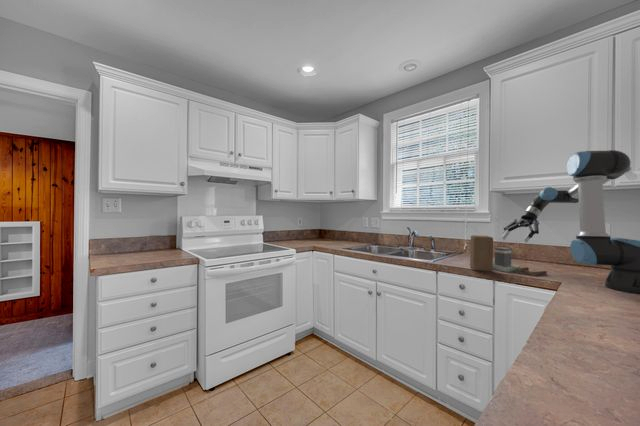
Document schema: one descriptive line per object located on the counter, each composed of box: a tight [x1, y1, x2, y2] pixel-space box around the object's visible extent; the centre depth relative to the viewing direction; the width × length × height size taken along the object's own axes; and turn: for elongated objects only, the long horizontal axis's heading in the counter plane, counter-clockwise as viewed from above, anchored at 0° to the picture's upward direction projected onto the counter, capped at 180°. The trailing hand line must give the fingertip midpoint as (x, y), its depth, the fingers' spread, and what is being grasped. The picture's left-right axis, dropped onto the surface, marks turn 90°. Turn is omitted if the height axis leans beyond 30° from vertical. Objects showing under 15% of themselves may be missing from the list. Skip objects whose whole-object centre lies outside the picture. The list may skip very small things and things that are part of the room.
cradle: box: [514, 266, 547, 277], centre depth 158 cm, size 10×10×2 cm
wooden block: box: [469, 234, 494, 273], centre depth 166 cm, size 10×10×20 cm
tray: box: [493, 262, 521, 273], centre depth 168 cm, size 12×12×2 cm
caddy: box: [494, 247, 512, 267], centre depth 168 cm, size 6×6×12 cm
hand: (513, 239), depth 171 cm, fingers open, 13 cm apart
